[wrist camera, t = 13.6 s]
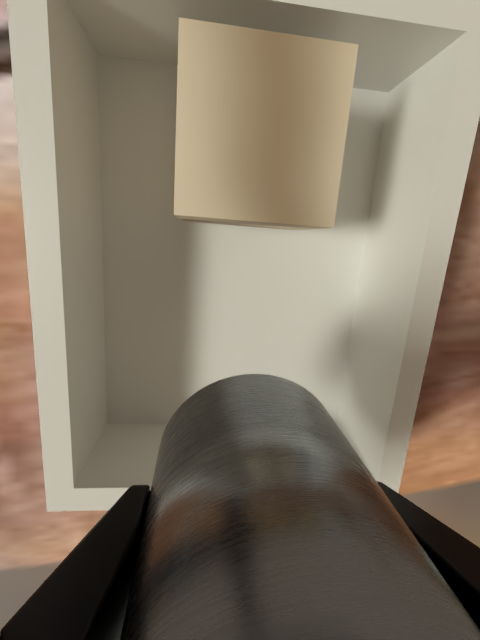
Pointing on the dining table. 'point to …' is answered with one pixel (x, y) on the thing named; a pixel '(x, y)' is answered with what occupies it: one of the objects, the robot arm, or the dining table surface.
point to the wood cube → (260, 126)
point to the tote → (229, 231)
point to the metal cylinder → (277, 531)
